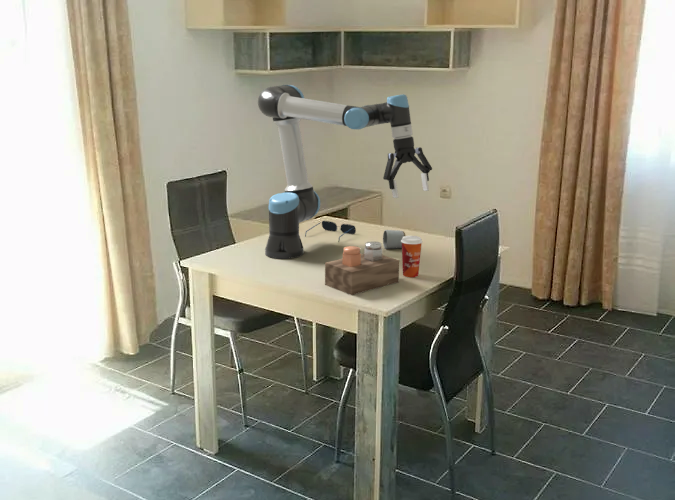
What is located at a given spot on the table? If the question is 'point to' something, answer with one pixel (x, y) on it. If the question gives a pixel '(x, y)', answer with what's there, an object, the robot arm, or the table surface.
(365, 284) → the button console
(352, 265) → the terracotta button
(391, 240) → the ceramic mug
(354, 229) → the sunglasses
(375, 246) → the grey button
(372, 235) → the table surface
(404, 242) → the paper cup
